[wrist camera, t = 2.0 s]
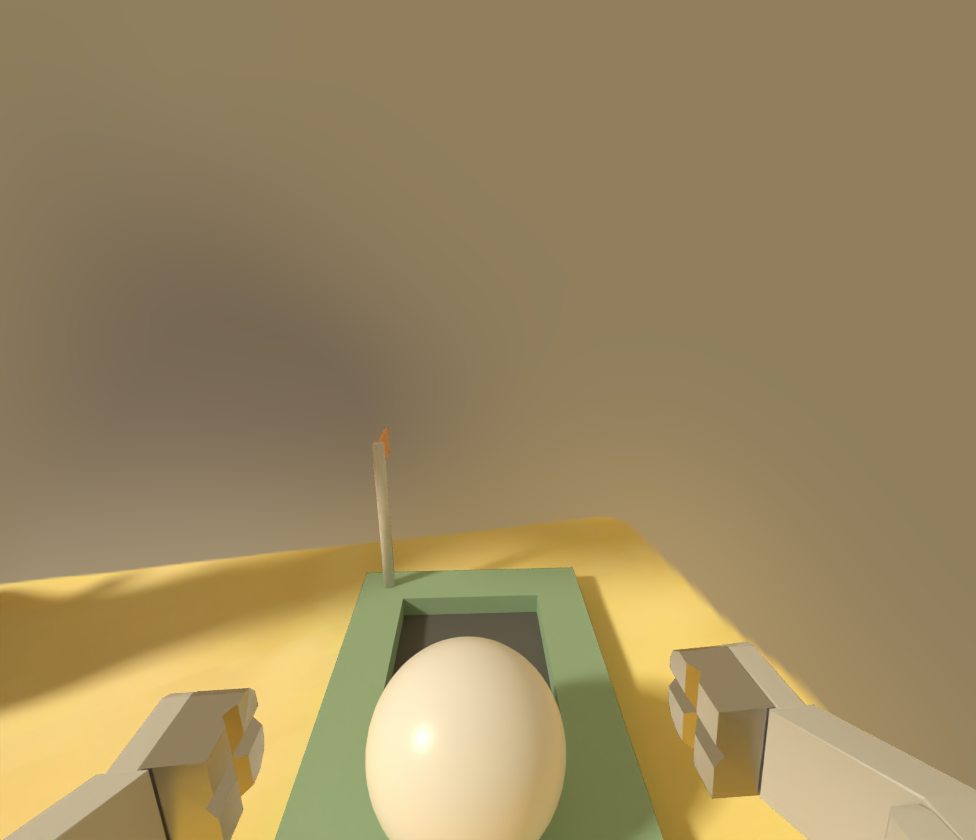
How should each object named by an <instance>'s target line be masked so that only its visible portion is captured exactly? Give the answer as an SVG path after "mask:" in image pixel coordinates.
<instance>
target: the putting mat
mask: <svg viewBox="0 0 976 840" xmlns="http://www.w3.org/2000/svg"><path fill="white" fill-rule="evenodd" d="M372 449H373V462H374V473H375V484H376V497H377V507H378V520H379V532H380V543H381V555H382V566H383V572H374V573H367V574H366V577H365V580H364V583H363V586H362V589H361V592H360V595H359V597H358V600H357V603H356V606H355V609H354V612H353V615H352V618H351V621H350V624H349V626H348V629H347V632H346V635H345V638H344V641H343V644H342V647H341V650H340V652H339V655H338V658H337V661H336V664H335V667H334V670H333V673H332V676H331V678H330V681H329V684H328V687H327V690H326V693H325V696H324V699H323V702H322V704H321V707H320V710H319V713H318V716H317V719H316V722H315V725H314V728H313V730H312V733H311V736H310V739H309V742H308V745H307V748H306V751H305V754H304V756H303V759H302V762H301V765H300V768H299V771H298V774H297V777H296V780H295V783H294V785H293V788H292V791H291V794H290V797H289V800H288V803H287V806H286V809H285V811H284V814H283V817H282V820H281V823H280V826H279V829H278V832H277V835H276V837H275V840H389V838H388V837H387V835H386V834H385V832H384V831H383V829H382V827H381V825H380V823H379V821H378V818H377V816H376V814H375V812H374V810H373V807H372V803H371V800H370V796H369V792H368V787H367V780H366V769H365V750H366V744H367V737H368V731H369V726H370V723H371V719H372V716H373V713H374V710H375V707H376V705H377V703H378V701H379V698H380V696H381V695H382V693H383V691H384V689H385V688H386V686H387V684H388V683H389V681H390V680H391V678H392V677H393V676H394V675H395V673H396V672H397V671H398V670H399V669H400V668H401V667H402V666H403V665H404V664H405V663H406V662H407V661H408V660H409V659H410V658H411V657H413V656H414V655H415V654H417V653H418V652H420V651H421V650H423V649H424V648H426V647H428V646H430V645H432V644H434V643H437V642H439V641H442V640H446V639H450V638H456V637H466V636H467V637H482V638H487V639H491V640H494V641H497V642H500V643H502V644H504V645H506V646H508V647H510V648H511V649H513V650H515V651H517V652H518V653H519V654H521V655H522V656H523V657H525V658H526V659H527V660H528V661H529V662H530V663H531V664H532V665H533V666H534V667H535V668H536V669H537V671H538V672H539V673H540V674H541V676H542V677H543V679H544V680H545V682H546V683H547V685H548V687H549V688H550V690H551V692H552V694H553V696H554V698H555V701H556V703H557V706H558V708H559V711H560V714H561V718H562V722H563V727H564V732H565V740H566V770H565V777H564V783H563V789H562V793H561V796H560V799H559V802H558V805H557V808H556V811H555V813H554V815H553V817H552V819H551V821H550V823H549V825H548V827H547V828H546V830H545V831H544V833H543V834H542V836H541V837H540V839H539V840H664V839H663V836H662V833H661V830H660V827H659V824H658V821H657V818H656V815H655V812H654V809H653V806H652V803H651V800H650V797H649V794H648V791H647V788H646V785H645V782H644V780H643V777H642V774H641V771H640V768H639V765H638V762H637V759H636V756H635V753H634V750H633V747H632V744H631V741H630V738H629V735H628V732H627V729H626V726H625V723H624V720H623V717H622V714H621V711H620V708H619V705H618V702H617V699H616V696H615V693H614V690H613V687H612V684H611V681H610V678H609V675H608V672H607V669H606V666H605V663H604V660H603V657H602V654H601V651H600V648H599V645H598V642H597V639H596V636H595V633H594V630H593V627H592V624H591V621H590V618H589V615H588V612H587V609H586V606H585V603H584V600H583V597H582V594H581V591H580V588H579V585H578V582H577V579H576V576H575V573H574V570H573V567H571V568H531V569H492V570H453V571H413V572H394V564H393V551H392V538H391V525H390V514H389V513H390V512H389V500H388V487H387V475H386V460H387V457H388V455H389V453H390V451H389V438H388V429H387V428H385V429H384V430H383V432H382V434H381V436H380V438H379V440H378V441H377V442H374V443H372Z"/></svg>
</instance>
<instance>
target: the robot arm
mask: <svg viewBox="0 0 976 840" xmlns="http://www.w3.org/2000/svg"><path fill="white" fill-rule="evenodd" d="M670 669H671V671H672V672H673V674H674V676H675V677H676V678H675V679H674V681H673V682H672V683H671V685H670V686H669V706H670V711H671V716H672V720H673V722H674V725H675V728H676V730H677V732H678V734H679V736H680V738H681V740H682V742H684V743H685V744H686V745H688V746H689V747H691V748H692V749H693V750H694V765H695V767H696V769H697V771H698V773H699V775H700V777H701V778H702V780H703V782H704V784H705V786H706V788H707V790H708V792H709V794H710V796H711V797H712V799H713V798H727V797H741V796H754V795H760V798H761V799H762V800H763V801H764V802H765V803H766V804H768V805H769V806H770V807H771V808H772V809H773V810H775V811H776V812H777V813H778V814H779V815H780V816H782V817H783V818H784V819H785V820H786V821H787V822H789V823H790V824H791V825H792V826H793V827H794V828H796V829H797V830H798V831H799V832H800V833H801V834H803V835H804V836H805V837H806V838H807V839H808V840H976V790H975V789H973V788H971V787H969V786H967V785H965V784H963V783H961V782H959V781H958V780H956V779H953V778H952V777H950V776H948V775H946V774H944V773H942V772H941V771H939V770H937V769H935V768H933V767H931V766H929V765H927V764H925V763H923V762H922V761H920V760H918V759H916V758H914V757H912V756H910V755H908V754H906V753H904V752H903V751H901V750H899V749H897V748H895V747H893V746H891V745H889V744H887V743H885V742H884V741H882V740H880V739H878V738H876V737H874V736H872V735H870V734H868V733H866V732H865V731H863V730H861V729H859V728H857V727H855V726H853V725H851V724H849V723H847V722H846V721H844V720H842V719H840V718H838V717H836V716H834V715H832V714H831V713H829V712H827V711H825V710H823V709H821V708H819V707H817V706H815V705H805V704H804V702H803V701H802V700H801V699H800V698H799V697H798V696H797V695H796V693H795V692H794V691H793V690H792V689H791V688H790V687H789V686H788V684H787V683H786V682H785V681H784V680H783V679H782V678H781V676H780V675H779V674H778V673H777V672H776V671H775V670H774V669H773V667H772V666H771V665H770V664H769V663H768V662H767V661H766V660H765V658H764V657H763V656H762V655H761V654H760V653H759V652H758V651H757V649H756V648H755V647H754V646H753V645H751V644H750V643H748V642H742V643H733V644H724V645H722V646H710V647H700V648H689V649H679V650H673V651H672V654H671V656H670ZM257 707H258V702H257V698H256V694H255V691H254V690H252V689H250V688H243V689H228V690H213V691H197V692H190V693H175V694H169V695H167V696H166V697H164V698H162V699H161V701H160V702H159V703H158V705H157V706H156V707H155V709H154V710H153V711H152V713H151V714H150V715H149V717H148V718H147V719H146V721H145V722H144V723H143V725H142V726H141V727H140V729H139V730H138V731H137V733H136V734H135V735H134V737H133V738H132V739H131V741H130V742H129V743H128V745H127V746H126V747H125V749H124V750H123V751H122V753H121V754H120V755H119V757H118V758H117V759H116V761H115V762H114V763H113V765H112V766H111V767H110V769H109V770H108V771H107V773H106V774H100V775H95V776H94V777H92V778H91V779H90V780H88V781H87V782H85V783H84V784H82V785H81V786H79V787H78V788H77V789H75V790H74V791H72V792H71V793H69V794H68V795H67V796H65V797H64V798H62V799H61V800H59V801H58V802H56V803H55V804H54V805H52V806H51V807H49V808H48V809H46V810H45V811H44V812H42V813H41V814H39V815H38V816H36V817H35V818H33V819H32V820H31V821H29V822H28V823H26V824H25V825H23V826H22V827H20V828H19V829H18V830H16V831H15V832H13V833H12V834H10V835H9V836H8V837H6V838H5V839H3V840H231V837H232V835H233V833H234V830H235V828H236V826H237V823H238V821H239V818H240V816H241V814H242V811H243V806H242V801H241V796H242V795H243V794H244V793H245V792H246V791H247V790H248V789H249V788H250V787H251V786H253V785H254V783H255V780H256V778H257V775H258V773H259V770H260V767H261V762H262V757H263V752H264V733H263V727H262V724H261V723H259V722H258V721H257V720H256V719H255V718H254V717H253V715H254V713H255V711H256V709H257Z"/></svg>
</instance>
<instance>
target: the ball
mask: <svg viewBox="0 0 976 840" xmlns="http://www.w3.org/2000/svg"><path fill="white" fill-rule="evenodd" d="M365 769H366V780H367V787H368V792H369V796H370V800H371V803H372V807H373V810H374V812H375V814H376V816H377V818H378V821H379V823H380V825H381V827H382V829H383V831H384V832H385V834H386V835H387V837H388V838H389V840H539V839H540V837H541V836H542V834H543V833H544V831H545V830H546V828H547V827H548V825H549V823H550V821H551V819H552V817H553V815H554V813H555V811H556V808H557V805H558V802H559V799H560V796H561V793H562V789H563V783H564V777H565V770H566V740H565V732H564V727H563V722H562V718H561V714H560V711H559V708H558V706H557V703H556V701H555V698H554V696H553V694H552V692H551V690H550V688H549V687H548V685H547V683H546V682H545V680H544V679H543V677H542V676H541V674H540V673H539V672H538V671H537V669H536V668H535V667H534V666H533V665H532V664H531V663H530V662H529V661H528V660H527V659H526V658H525V657H523V656H522V655H521V654H519V653H518V652H517V651H515V650H513V649H511V648H510V647H508V646H506V645H504V644H502V643H500V642H497V641H494V640H491V639H487V638H482V637H467V636H466V637H456V638H450V639H446V640H442V641H439V642H437V643H434V644H432V645H430V646H428V647H426V648H424V649H423V650H421V651H420V652H418V653H417V654H415V655H414V656H413V657H411V658H410V659H409V660H408V661H407V662H406V663H405V664H404V665H403V666H402V667H401V668H400V669H399V670H398V671H397V672H396V673H395V675H394V676H393V677H392V678H391V680H390V681H389V683H388V684H387V686H386V688H385V689H384V691H383V693H382V695H381V696H380V698H379V701H378V703H377V705H376V707H375V710H374V713H373V716H372V719H371V723H370V726H369V731H368V737H367V744H366V750H365Z"/></svg>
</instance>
